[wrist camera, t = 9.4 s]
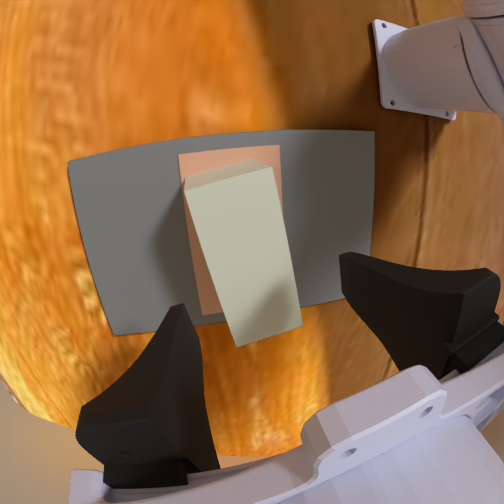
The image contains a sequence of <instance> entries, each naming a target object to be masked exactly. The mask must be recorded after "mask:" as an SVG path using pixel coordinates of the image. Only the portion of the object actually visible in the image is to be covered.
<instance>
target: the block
mask: <svg viewBox="0 0 504 504" xmlns="http://www.w3.org/2000/svg"><path fill="white" fill-rule="evenodd" d="M184 193H185V196H186V200H187V203H188V206H189V210H190V213H191V216H192V219H193V222H194V226H195V229H196V232H197V235H198V238H199V241H200V244H201V247H202V250H203V253H204V257H205V260H206V263H207V266H208V269H209V271H210V274H211V277H212V280H213V283H214V286H215V289H216V292H217V295H218V298H219V301H220V303H221V306H222V309H223V312H224V315H225V317H226V320H227V323H228V326H229V328H230V331H231V334H232V337H233V339H234V342H235V345H236V347H239V346H243V345H246V344H249V343H253V342H256V341H259V340H262V339H265V338H268V337H271V336H274V335H277V334H280V333H283V332H286V331H289V330H292V329H295V328H298V327H301V326H303V323H302V317H301V311H300V305H299V300H298V294H297V288H296V283H295V277H294V272H293V267H292V261H291V256H290V251H289V246H288V240H287V235H286V230H285V225H284V220H283V215H282V211H281V206H280V201H279V196H278V192H277V187H276V182H275V178H274V173H273V168H272V167H271V166H269V165H266V164H263V163H261V162H258V161H255V160H253V159H250V160H246V161H242V162H238V163H234V164H231V165H227V166H223V167H220V168H216V169H213V170H209V171H206V172H202V173H199V174H195V175H192V176H189V177H186V178H185V187H184Z"/></svg>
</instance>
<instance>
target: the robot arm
mask: <svg viewBox="0 0 504 504" xmlns="http://www.w3.org/2000/svg"><path fill="white" fill-rule="evenodd" d="M461 8H462V10H463V11H464V13H465V14H464V15H459V16H454V17H450V18H446V19H442V20H438V21H434V22H430V23H427V24H423V25H420V26H416V27H413V28H410V29H407V28H404V27H401V26H398V25H395V24H392V23H389V22H385V21H382V20H378V19H376V20H374V21H372V27H373V33H374V40H375V47H376V55H377V64H378V73H379V85H380V98H381V105H382V106H383V107H384V108H387V109H394V110H401V111H408V112H414V113H419V114H425V115H430V116H435V117H440V118H444V119H449V120H455V119H456V110H459V111H473V112H484V113H493V114H498V115H499V117H500V119H501V121H502V123H503V124H504V0H464V1H463V5H462V7H461ZM382 25H383V26H384V28H383V27H382ZM391 101H392V105H391V103H390V102H391ZM339 265H340V277H341V290H342V293H343V295H344V296H345V298H346V300H347V301H348V303H349V304H350V306H351V307H352V308H353V310H354V311H355V312H356V313H357V314H358V315H359V317H360V318H361V319H362V320H363V321H364V322H365V323H366V325H367V326H368V327H369V328H370V329H371V330H372V331H373V333H374V334H375V335H376V336H377V337H378V339H379V340H380V341H381V342H382V344H383V345H384V347H385V348H386V350H387V351H388V353H389V354H390V356H391V358H392V359H393V361H394V363H395V364H396V366H397V368H398V369H399V371H400V372H398V373H396V374H394V375H392V376H390V377H389V378H387V379H385V380H383V381H381V382H379V383H376V384H374V385H372V386H370V387H368V388H366V389H364V390H362V391H359V392H357V393H355V394H353V395H350V396H348V397H346V398H343V399H341V400H339V401H336V402H334V403H332V404H330V405H328V406H326V407H324V408H323V409H321V410H319V411H317V412H316V413H315V414H314V415H312V416H311V417H310V418H309V419H308V420H307V421H306V422H305V423H304V425H303V428H302V431H301V434H300V435H301V440H302V445H300V446H298V447H296V448H294V449H291V450H289V451H287V452H285V453H282V454H279V455H275V456H272V457H268V458H265V459H261V460H257V461H254V462H249V463H246V464H241V465H237V466H232V467H227V468H223V469H221V468H220V465H219V462H218V458H217V454H216V451H215V447H214V443H213V439H212V435H211V430H210V426H209V421H208V416H207V411H206V406H205V398H204V382H203V363H202V353H201V347H200V342H199V337H198V335H197V333H196V330H195V328H194V326H193V324H192V321H191V319H190V317H189V314H188V312H187V310H186V307H185V305H184V303H181V304H178V305H174V306H171V307H170V308H169V310H168V312H167V314H166V315H165V317H164V319H163V321H162V322H161V324H160V326H159V328H158V329H157V331H156V333H155V334H154V336H153V337H152V339H151V340H150V342H149V343H148V345H147V347H146V348H145V349H144V351H143V352H142V354H141V355H140V356H139V357H138V359H137V360H136V361H135V362H134V363H133V365H132V366H131V367H130V368H129V369H128V370H127V371H126V372H125V373H124V374H123V375H122V376H121V377H120V378H119V379H118V380H117V381H116V382H115V383H113V384H112V385H111V386H110V387H109V388H107V389H106V390H105V391H104V392H102V393H101V394H100V395H98V396H97V397H95V398H94V399H92V400H91V401H89V402H88V403H86V404H85V405H83V406H82V407H81V411H80V415H79V419H78V424H77V429H76V439H77V441H78V443H79V444H80V445H81V446H82V447H83V448H84V449H85V450H86V451H87V452H88V453H89V454H91V455H92V456H93V457H94V458H96V459H97V460H98V461H100V462H101V463H102V464H104V473H103V472H101V471H98V470H82V469H73V470H72V475H71V483H70V492H69V501H68V504H504V463H503V462H502V461H501V459H500V458H499V457H498V455H497V454H496V453H495V451H494V450H493V449H492V447H491V446H490V445H489V443H488V442H487V441H486V440H485V438H484V437H483V436H482V434H481V433H480V431H481V430H482V429H483V428H484V427H485V426H486V425H487V424H488V423H489V422H490V421H491V420H492V419H493V418H494V417H495V416H496V415H497V414H498V413H499V412H500V411H501V410H502V409H503V408H504V322H503V324H501V323H499V322H498V320H499V315H497V314H496V313H495V312H494V311H495V308H496V304H497V301H498V297H499V293H500V278H499V276H498V275H497V274H495V273H494V272H492V271H490V270H489V269H487V268H480V269H472V270H457V271H443V270H429V269H421V268H415V267H409V266H404V265H400V264H396V263H392V262H388V261H384V260H381V259H377V258H374V257H371V256H367V255H364V254H360V253H356V252H351V251H349V252H346V253H343V254H340V255H339Z"/></svg>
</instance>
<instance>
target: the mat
mask: <svg viewBox="0 0 504 504" xmlns="http://www.w3.org/2000/svg"><path fill="white" fill-rule="evenodd" d="M250 159H253V160H255V161H258V162H261V163H263V164H266V165H269V166H271V167H272V168H273V173H274V178H275V182H276V187H277V192H278V196H279V201H280V206H281V211H282V215H283V220H284V225H285V230H286V235H287V240H288V246H289V251H290V256H291V261H292V267H293V272H294V277H295V283H296V288H297V294H298V300H299V305H300V308H302V307H307V306H312V305H316V304H321V303H326V302H330V301H335V300H339V299H344V298H345V296H344V295H343V293H342V290H341V277H340V265H339V255H340V254H343V253H346V252H349V251H351V252H356V253H360V254H364V255H367V256H370V248H371V236H372V223H373V207H374V182H375V132H374V131H355V130H273V131H254V132H240V133H228V134H217V135H208V136H199V137H191V138H183V139H176V140H169V141H163V142H157V143H151V144H145V145H139V146H134V147H129V148H124V149H119V150H114V151H110V152H105V153H101V154H96V155H92V156H88V157H84V158H80V159H76V160H72V161H69V162H67V164H68V171H69V177H70V183H71V189H72V194H73V199H74V204H75V209H76V214H77V218H78V223H79V227H80V231H81V235H82V239H83V243H84V247H85V251H86V254H87V258H88V261H89V265H90V268H91V272H92V275H93V278H94V281H95V284H96V288H97V291H98V294H99V297H100V299H101V302H102V305H103V308H104V311H105V313H106V316H107V319H108V321H109V324H110V327H111V329H112V332H113V334H114V336H115V335H126V334H135V333H145V332H153V331H157V329H158V328H159V326H160V324H161V322H162V321H163V319H164V317H165V315H166V314H167V312H168V310H169V308H170V307H171V306H174V305H178V304H181V303H184V305H185V307H186V310H187V312H188V314H189V317H190V319H191V321H192V324H193V326H199V325H206V324H213V323H219V322H225V321H227V320H226V317H225V315H224V312H223V309H222V306H221V303H220V301H219V298H218V295H217V292H216V289H215V286H214V283H213V280H212V277H211V274H210V271H209V269H208V266H207V263H206V260H205V257H204V253H203V250H202V247H201V244H200V241H199V238H198V235H197V232H196V229H195V226H194V222H193V219H192V216H191V213H190V210H189V206H188V203H187V200H186V196H185V193H184V187H185V178H186V177H189V176H192V175H195V174H199V173H202V172H206V171H209V170H213V169H216V168H220V167H223V166H227V165H231V164H234V163H238V162H242V161H246V160H250Z"/></svg>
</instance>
